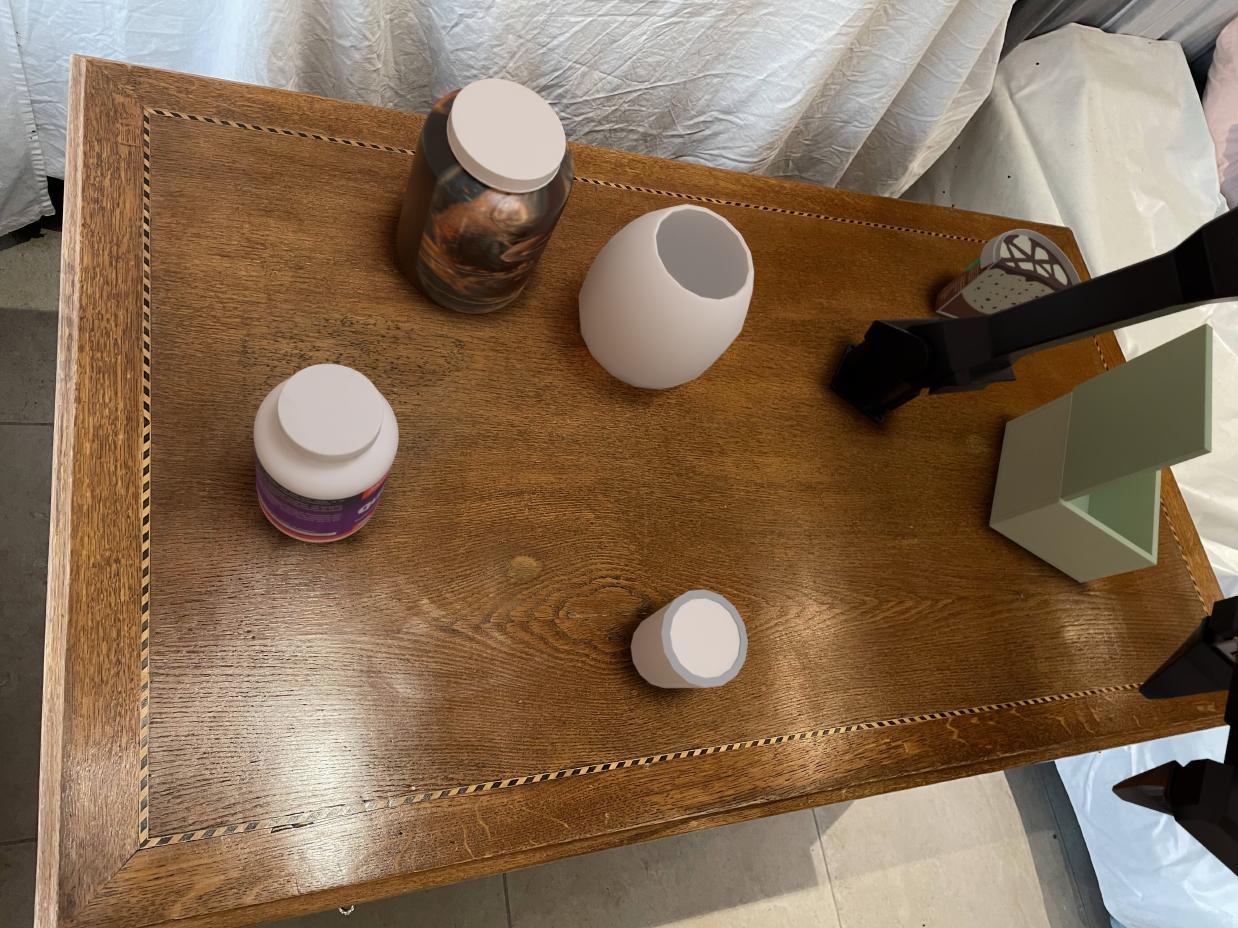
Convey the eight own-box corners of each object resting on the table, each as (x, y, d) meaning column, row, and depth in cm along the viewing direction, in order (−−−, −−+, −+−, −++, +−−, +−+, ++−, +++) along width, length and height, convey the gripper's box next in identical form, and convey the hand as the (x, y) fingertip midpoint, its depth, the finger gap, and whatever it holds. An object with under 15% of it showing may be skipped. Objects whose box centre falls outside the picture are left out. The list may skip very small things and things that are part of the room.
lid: (1213, 327, 67) (1206, 322, 67) (1212, 452, 61) (1204, 447, 61) (1078, 391, 78) (1072, 387, 78) (1066, 502, 72) (1059, 498, 72)
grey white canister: (714, 632, 63) (760, 617, 57) (685, 712, 60) (730, 705, 54) (643, 590, 62) (682, 571, 56) (609, 669, 59) (647, 658, 53)
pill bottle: (368, 554, 55) (396, 491, 43) (245, 537, 53) (235, 464, 40) (387, 448, 58) (417, 361, 46) (270, 427, 56) (269, 328, 43)
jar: (365, 218, 64) (388, 78, 51) (483, 178, 70) (529, 44, 57) (444, 334, 63) (488, 222, 50) (556, 284, 69) (621, 172, 56)
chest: (1091, 478, 88) (1162, 452, 81) (1080, 583, 81) (1157, 565, 74) (1006, 422, 86) (1071, 391, 79) (988, 525, 79) (1058, 501, 72)
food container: (1004, 294, 93) (1078, 246, 85) (1010, 338, 91) (1087, 293, 82) (921, 263, 89) (990, 208, 81) (924, 308, 87) (996, 256, 78)
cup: (623, 431, 67) (696, 359, 55) (533, 307, 68) (587, 211, 56) (725, 366, 73) (809, 290, 62) (642, 254, 74) (710, 158, 63)
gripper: (1487, 954, 40) (1192, 933, 53) (1475, 676, 50) (1231, 716, 63) (1318, 805, 40) (1066, 820, 53) (1341, 559, 51) (1125, 622, 64)
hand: (1130, 741), depth 58 cm, fingers open, 9 cm apart
